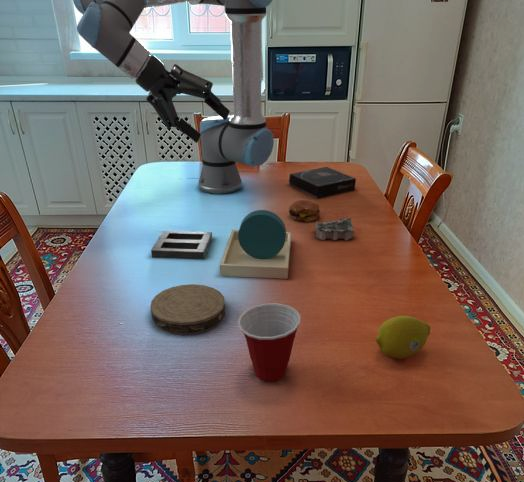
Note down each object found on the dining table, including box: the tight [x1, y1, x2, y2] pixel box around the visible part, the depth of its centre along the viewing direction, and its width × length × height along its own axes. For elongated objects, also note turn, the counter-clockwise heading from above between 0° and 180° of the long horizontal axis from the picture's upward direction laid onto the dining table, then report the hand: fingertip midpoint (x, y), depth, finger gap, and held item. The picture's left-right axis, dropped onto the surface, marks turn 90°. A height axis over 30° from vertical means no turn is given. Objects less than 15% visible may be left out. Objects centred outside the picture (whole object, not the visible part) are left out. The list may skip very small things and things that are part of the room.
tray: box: [219, 229, 292, 280], centre depth 128 cm, size 22×17×3 cm
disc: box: [238, 209, 287, 259], centre depth 124 cm, size 12×3×12 cm, turn 85°
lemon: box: [375, 315, 431, 360], centre depth 92 cm, size 11×8×8 cm
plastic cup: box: [237, 302, 302, 383], centre depth 87 cm, size 11×11×12 cm
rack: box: [150, 230, 213, 260], centre depth 133 cm, size 14×13×2 cm
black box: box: [288, 166, 357, 199], centre depth 173 cm, size 16×17×4 cm
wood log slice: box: [150, 283, 227, 336], centre depth 105 cm, size 16×16×3 cm
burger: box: [288, 198, 321, 223], centre depth 150 cm, size 10×9×5 cm
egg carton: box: [315, 217, 355, 241], centre depth 139 cm, size 11×8×4 cm
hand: (212, 127), depth 127 cm, fingers open, 13 cm apart
